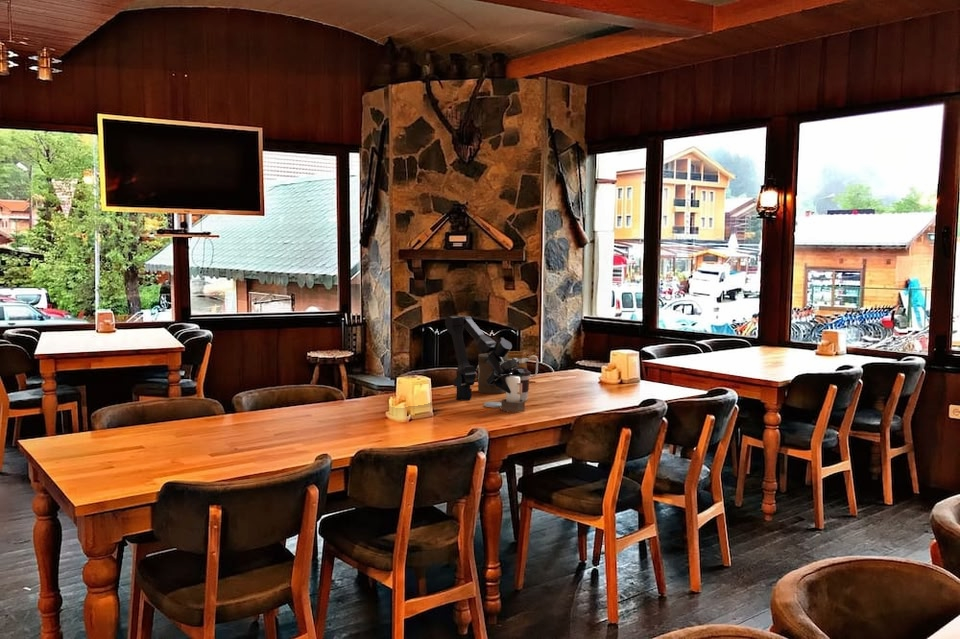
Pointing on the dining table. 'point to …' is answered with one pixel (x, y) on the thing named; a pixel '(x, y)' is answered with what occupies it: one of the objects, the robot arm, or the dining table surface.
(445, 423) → the dining table surface
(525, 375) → the coffee cup
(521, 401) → the holder
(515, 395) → the jug
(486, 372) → the wooden container
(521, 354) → the mug
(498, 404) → the plate
